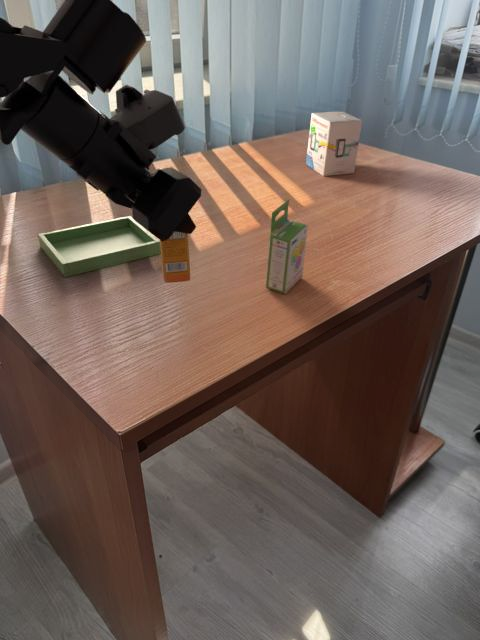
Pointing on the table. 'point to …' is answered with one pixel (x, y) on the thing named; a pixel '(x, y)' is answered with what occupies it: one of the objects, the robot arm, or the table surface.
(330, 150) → the ink box
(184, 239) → the supplement box
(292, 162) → the table surface
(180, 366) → the table surface
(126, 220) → the green tray
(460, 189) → the table surface
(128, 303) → the table surface
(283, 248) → the ink box
